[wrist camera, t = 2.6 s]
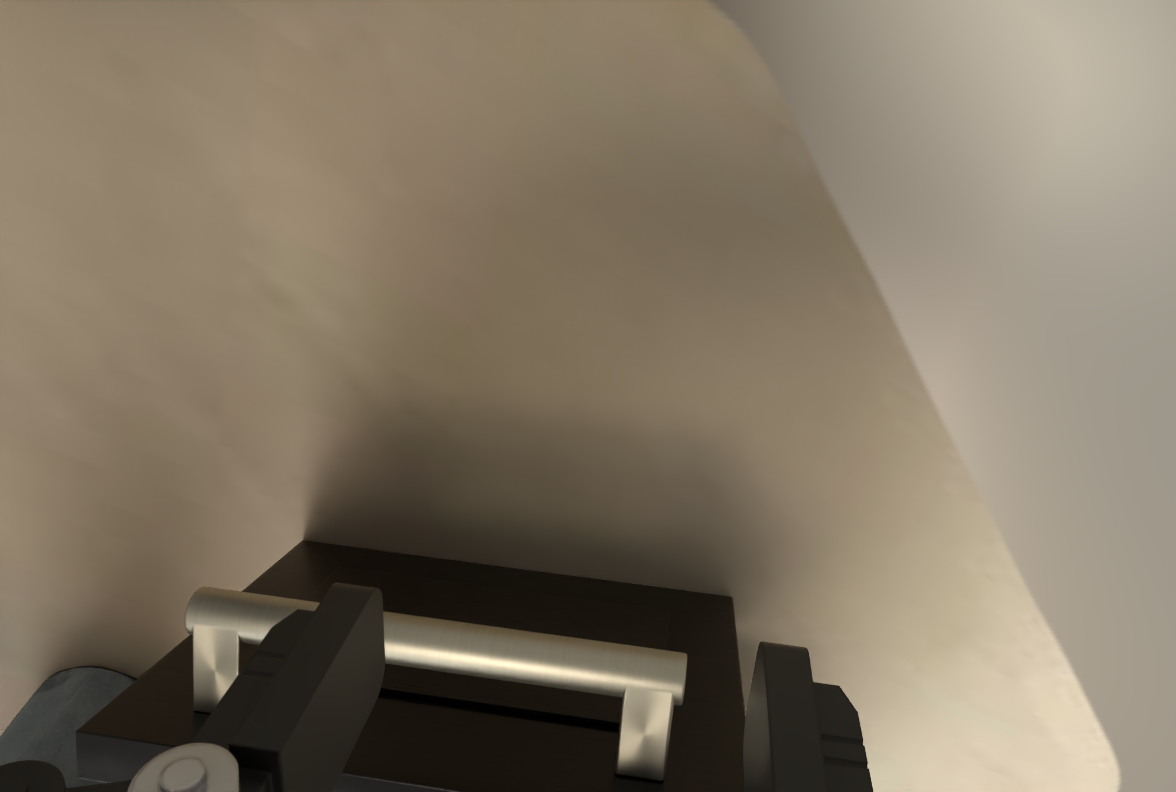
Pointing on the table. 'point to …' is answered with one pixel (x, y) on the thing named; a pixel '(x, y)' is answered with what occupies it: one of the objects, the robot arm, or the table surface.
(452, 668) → the oven door
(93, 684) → the moka pot
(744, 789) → the robot arm
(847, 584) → the table surface
